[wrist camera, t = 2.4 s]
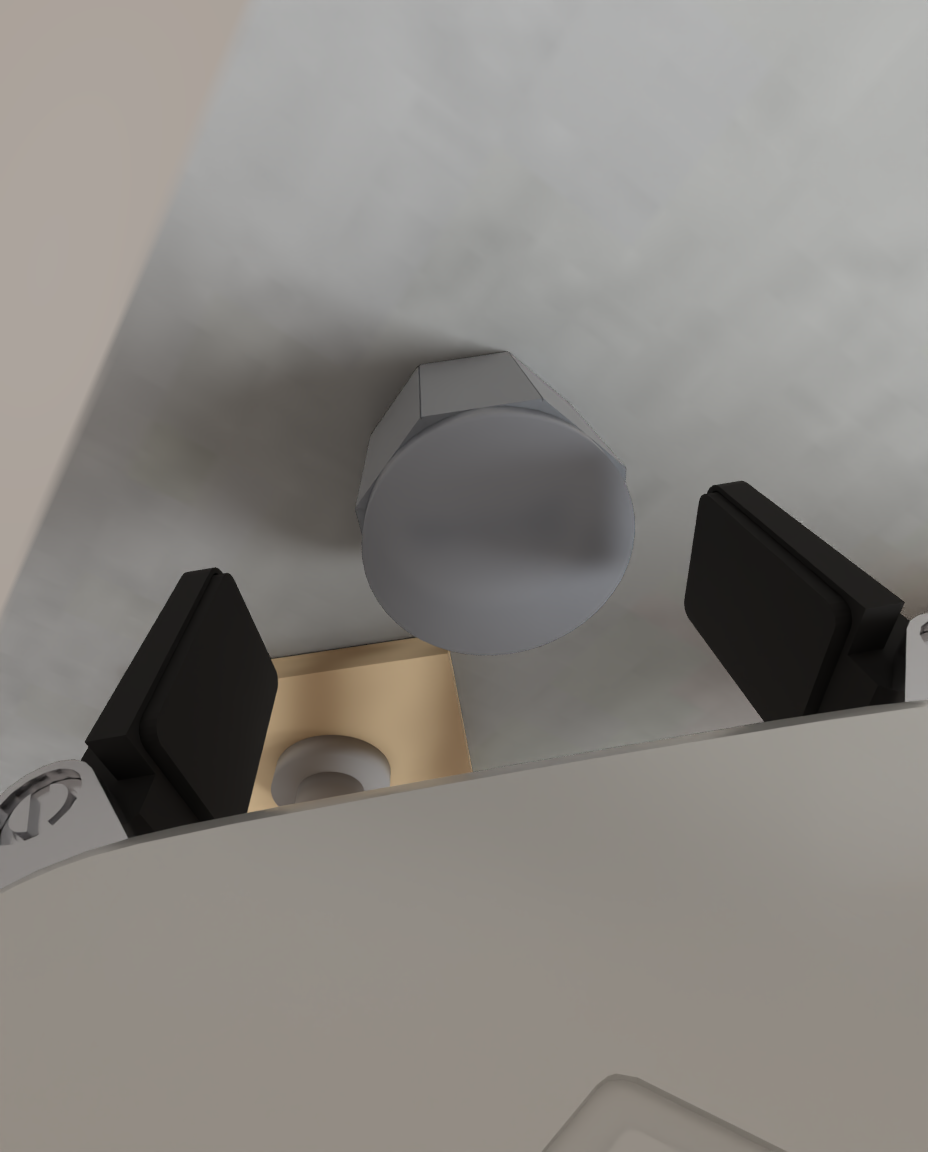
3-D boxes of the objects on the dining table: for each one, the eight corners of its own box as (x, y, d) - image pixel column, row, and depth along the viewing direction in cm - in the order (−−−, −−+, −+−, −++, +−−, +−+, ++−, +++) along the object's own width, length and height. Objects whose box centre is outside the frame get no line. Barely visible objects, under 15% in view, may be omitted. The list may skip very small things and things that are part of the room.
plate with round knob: (446, 633, 21) (457, 779, 16) (479, 805, 28) (495, 950, 22) (151, 677, 21) (57, 837, 16) (255, 838, 28) (215, 991, 22)
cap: (572, 341, 15) (643, 395, 11) (573, 531, 19) (628, 636, 14) (355, 374, 15) (328, 442, 11) (398, 557, 19) (392, 671, 14)
